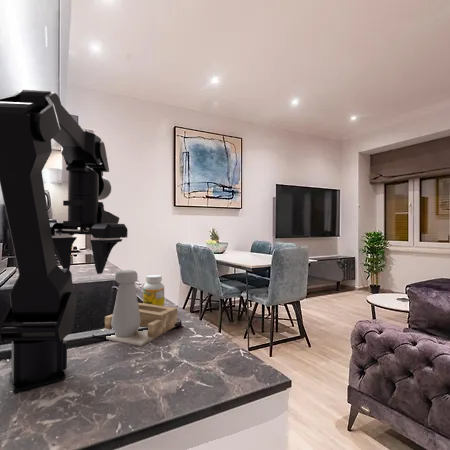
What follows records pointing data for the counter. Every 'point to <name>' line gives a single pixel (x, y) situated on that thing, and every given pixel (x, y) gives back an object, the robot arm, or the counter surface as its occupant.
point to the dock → (147, 324)
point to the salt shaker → (126, 305)
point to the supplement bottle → (153, 290)
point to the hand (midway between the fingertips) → (82, 272)
